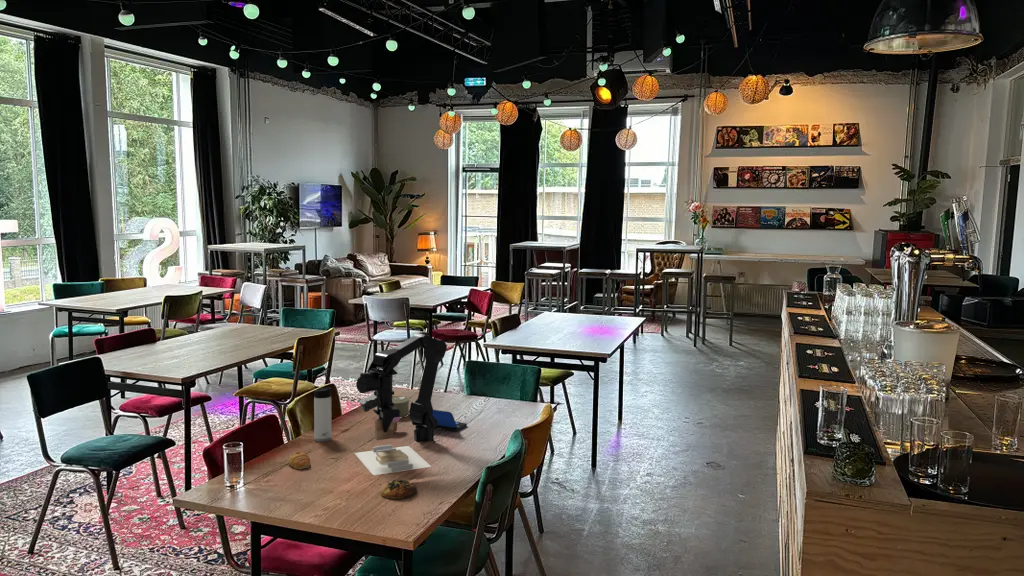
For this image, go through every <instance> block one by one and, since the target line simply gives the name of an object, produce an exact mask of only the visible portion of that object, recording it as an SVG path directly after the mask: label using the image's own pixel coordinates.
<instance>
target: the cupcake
mask: <svg viewBox="0 0 1024 576" xmlns="http://www.w3.org/2000/svg"><path fill="white" fill-rule="evenodd" d="M376 419H379V418H378V416H377V417H376ZM400 420H401V418H400V417H395V418H393V434H395V433H396V432H397V430H398V422H399V421H400Z"/></svg>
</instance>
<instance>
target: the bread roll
mask: <svg viewBox="0 0 1024 576" xmlns="http://www.w3.org/2000/svg"><path fill="white" fill-rule="evenodd" d="M417 488H418V487H416V484H414V483H413V482H410V481H408V480H405V479H401V478H398V479H397V480H396V479H392V480H391V481H388V482H387V483H386V484H385V485H384V486H383V487H382V488H381V490H380V492H379V493H380V494H381V496H382V497H384V498H386V499H393V500H400V499H402V500H403V499H408V498H412V497H413V496H415V495H416V494H417V490H418V489H417ZM411 496H412V497H411Z"/></svg>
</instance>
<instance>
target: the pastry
mask: <svg viewBox="0 0 1024 576" xmlns="http://www.w3.org/2000/svg"><path fill="white" fill-rule="evenodd" d="M287 460H288V461H287V463H288V465H289V466H290V467H292V468H294V469H295V470H302V469H306V468H307V469H308V468H309V467H310V466H311V458H310V457H309V455H308V454H307V453H306V452H304V453H303V452H302V451H296V452H294V453H291V454H290V455H289V457H288V459H287Z"/></svg>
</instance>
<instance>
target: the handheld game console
mask: <svg viewBox="0 0 1024 576" xmlns="http://www.w3.org/2000/svg"><path fill="white" fill-rule="evenodd" d="M433 416H434V418H435V419H436V420H437V421H438V424H437V427H435V428H434V429H436V428H441V429H440V430H443V429H444V430H443V431H448V432H453V431H454V432H455V433H457V432H458V431H461V430H463V429H465V428H466V427H467V426H468V424H467V423H465V422H460V421H456V420H455V418H454V415H453V413H452V412H450V411H447V410H437V409H433Z"/></svg>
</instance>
